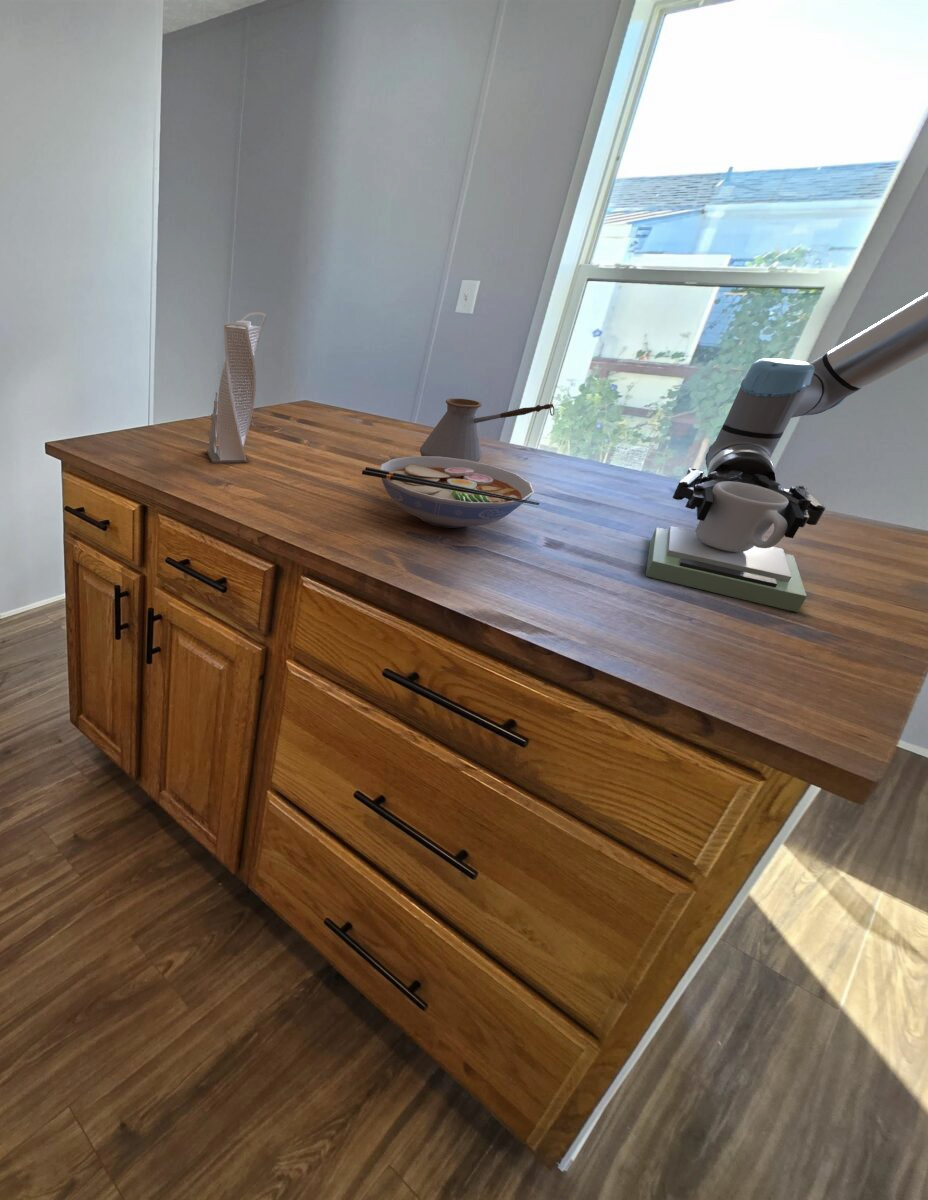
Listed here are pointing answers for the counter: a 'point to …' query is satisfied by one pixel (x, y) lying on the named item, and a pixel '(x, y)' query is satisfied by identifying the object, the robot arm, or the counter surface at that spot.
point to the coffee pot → (464, 430)
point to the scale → (726, 569)
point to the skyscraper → (235, 392)
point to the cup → (743, 517)
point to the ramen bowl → (452, 490)
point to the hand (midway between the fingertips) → (748, 519)
